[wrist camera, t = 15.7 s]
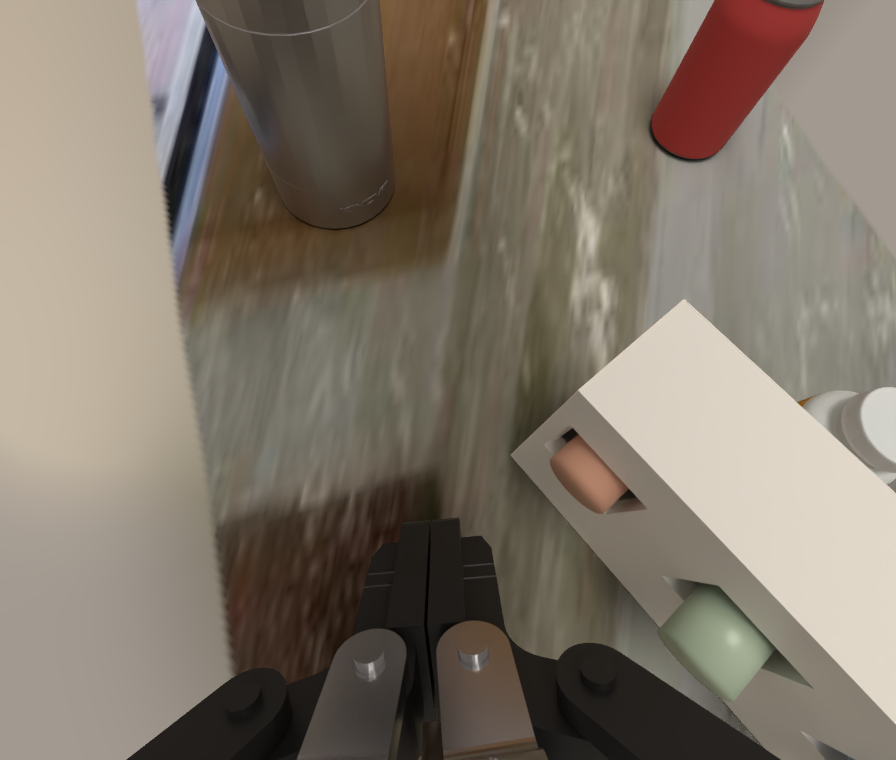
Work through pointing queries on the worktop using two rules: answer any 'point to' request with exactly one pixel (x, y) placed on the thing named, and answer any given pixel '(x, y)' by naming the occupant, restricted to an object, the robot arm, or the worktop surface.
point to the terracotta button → (587, 476)
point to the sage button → (716, 641)
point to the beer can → (729, 71)
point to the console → (743, 528)
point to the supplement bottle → (861, 425)
